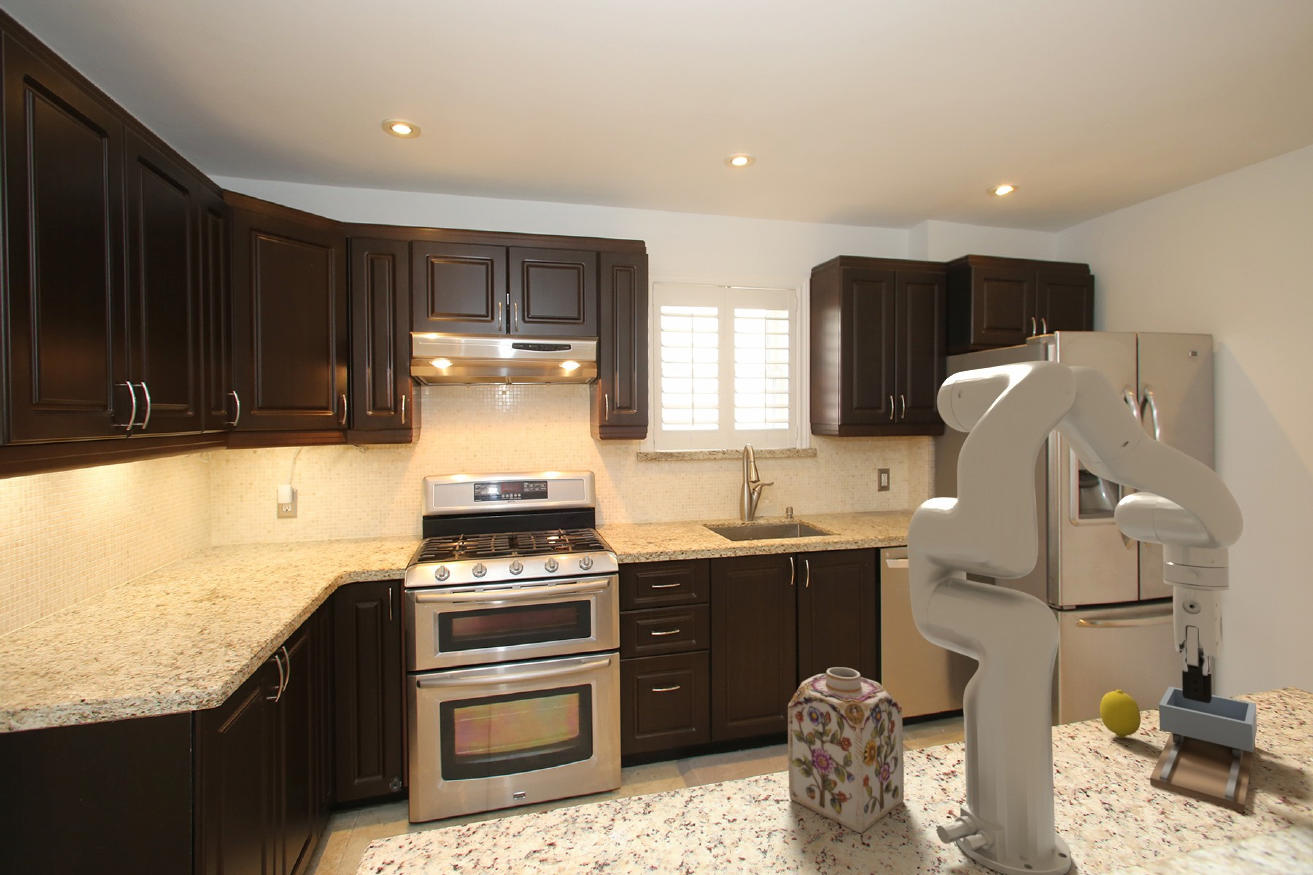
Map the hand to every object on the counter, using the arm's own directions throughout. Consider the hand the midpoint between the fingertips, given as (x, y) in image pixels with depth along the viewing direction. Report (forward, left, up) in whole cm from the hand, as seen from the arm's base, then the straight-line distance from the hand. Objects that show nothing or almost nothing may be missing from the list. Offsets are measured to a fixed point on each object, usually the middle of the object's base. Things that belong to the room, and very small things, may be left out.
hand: (1197, 699), depth 95 cm
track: (+4, +1, -11) cm, 12 cm away
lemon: (+1, +12, -11) cm, 17 cm away
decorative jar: (-53, +13, -11) cm, 56 cm away
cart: (+8, +3, -9) cm, 13 cm away
